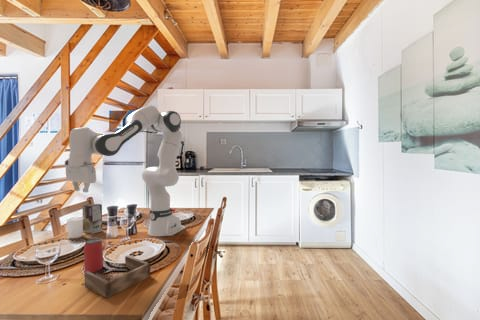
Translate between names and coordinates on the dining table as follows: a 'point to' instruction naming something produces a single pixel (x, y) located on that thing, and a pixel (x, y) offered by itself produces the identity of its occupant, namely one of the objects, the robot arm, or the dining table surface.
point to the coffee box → (92, 218)
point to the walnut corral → (119, 278)
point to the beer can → (93, 255)
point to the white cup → (75, 227)
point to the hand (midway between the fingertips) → (81, 191)
